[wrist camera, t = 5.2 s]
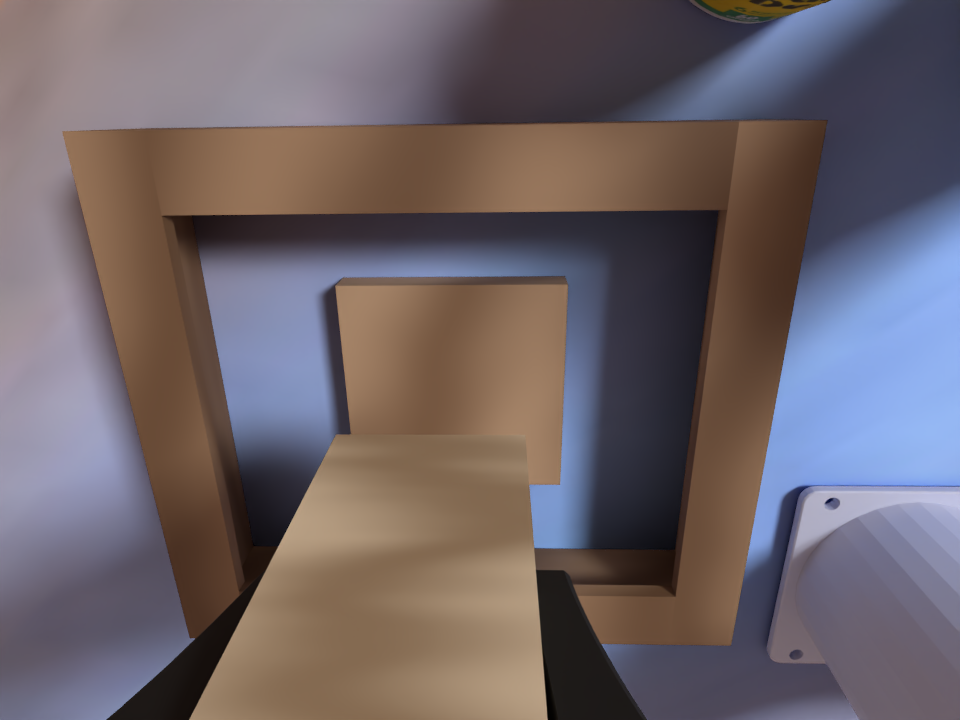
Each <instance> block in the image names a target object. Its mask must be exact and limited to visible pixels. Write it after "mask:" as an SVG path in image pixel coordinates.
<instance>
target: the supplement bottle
mask: <svg viewBox="0 0 960 720" xmlns="http://www.w3.org/2000/svg"><path fill="white" fill-rule="evenodd" d="M689 1H690V2H691V3H692V4H693V5H695V6H696V7H698V8H700V9H701V10H703V11H705V12H706V13H708V14H710V15H712V16H714V17H717V18H720V19H723V20H726V21H731V22H737V23H746V24H750V23H760V22H766V21H770V20H774V19H777V18H780V17H784V16H788V15H791V14H793V13H796V12H799V11H802V10H805V9H808V8H811V7H814V6H816V5H819V4H822V3H826V2H829V1H831V0H689Z"/></svg>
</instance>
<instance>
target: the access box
mask: <svg viewBox="0 0 960 720" xmlns="http://www.w3.org/2000/svg"><path fill="white" fill-rule="evenodd" d="M827 121H828V120H783V119H749V120H682V121H615V122H548V123H481V124H414V125H347V126H280V127H213V128H146V129H117V130H90V131H63V136H64V140H65V144H66V148H67V152H68V156H69V160H70V164H71V168H72V172H73V176H74V180H75V184H76V188H77V192H78V196H79V200H80V204H81V208H82V212H83V216H84V220H85V224H86V228H87V232H88V236H89V240H90V243H91V247H92V251H93V255H94V259H95V263H96V267H97V271H98V275H99V279H100V283H101V287H102V291H103V295H104V299H105V303H106V307H107V311H108V315H109V319H110V323H111V327H112V331H113V335H114V339H115V343H116V347H117V351H118V355H119V359H120V363H121V367H122V371H123V374H124V378H125V382H126V386H127V390H128V394H129V398H130V402H131V406H132V410H133V414H134V418H135V422H136V426H137V430H138V434H139V438H140V442H141V446H142V450H143V454H144V458H145V462H146V466H147V470H148V474H149V478H150V482H151V486H152V490H153V494H154V498H155V502H156V506H157V509H158V513H159V517H160V521H161V525H162V529H163V533H164V537H165V541H166V545H167V549H168V553H169V557H170V561H171V565H172V569H173V573H174V577H175V581H176V585H177V589H178V593H179V597H180V601H181V605H182V609H183V613H184V617H185V621H186V625H187V629H188V633H189V637H190V638H197V637H198V636H199V635H200V634H201V633H202V632H203V631H204V630H205V629H206V628H207V627H208V626H209V625H210V624H211V623H212V622H213V621H214V620H215V619H216V618H217V617H218V616H219V615H220V614H221V613H222V612H223V611H224V610H225V609H226V608H227V607H228V606H229V605H230V604H231V603H232V602H233V601H234V600H235V599H236V598H237V597H238V596H239V595H240V594H241V593H242V592H243V591H244V590H245V589H246V588H247V587H248V586H249V585H250V584H251V583H252V582H253V581H254V580H255V579H256V578H257V577H258V576H259V575H260V574H261V573H262V572H264V571H265V570H266V569H267V568H268V566H269V564H270V562H271V560H272V558H273V556H274V554H275V552H276V550H277V548H278V546H253V540H252V535H251V530H250V524H249V519H248V514H247V508H246V503H245V498H244V492H243V487H242V482H241V476H240V471H239V465H238V460H237V455H236V449H235V444H234V439H233V433H232V428H231V423H230V417H229V412H228V407H227V401H226V396H225V391H224V385H223V380H222V375H221V369H220V364H219V358H218V353H217V348H216V342H215V337H214V332H213V326H212V321H211V316H210V310H209V305H208V300H207V294H206V289H205V284H204V278H203V273H202V268H201V262H200V257H199V251H198V246H197V241H196V235H195V230H194V225H193V219H192V215H265V214H365V213H465V212H564V211H664V210H718V218H717V226H716V234H715V242H714V249H713V257H712V265H711V273H710V280H709V288H708V296H707V304H706V312H705V319H704V327H703V335H702V343H701V350H700V358H699V366H698V374H697V381H696V389H695V397H694V405H693V413H692V420H691V428H690V436H689V444H688V451H687V459H686V467H685V475H684V483H683V490H682V498H681V506H680V514H679V521H678V529H677V537H676V545H675V550H640V549H534V553H535V566H536V570H564V571H565V572H566V573H567V574H569V575H570V578H571V581H572V583H573V586H574V589H575V591H576V594H577V596H578V598H579V601H580V603H581V605H582V607H583V609H584V611H585V614H586V616H587V618H588V620H589V622H590V624H591V626H592V628H593V630H594V632H595V634H596V636H597V637H598V639H599V641H600V643H601V644H652V645H725V646H731V643H732V637H733V632H734V626H735V621H736V615H737V610H738V605H739V599H740V594H741V588H742V583H743V577H744V572H745V567H746V561H747V556H748V550H749V545H750V539H751V534H752V528H753V523H754V518H755V512H756V507H757V501H758V496H759V490H760V485H761V480H762V474H763V469H764V463H765V458H766V452H767V447H768V441H769V436H770V431H771V425H772V420H773V414H774V409H775V403H776V398H777V393H778V387H779V382H780V376H781V371H782V365H783V360H784V354H785V349H786V344H787V338H788V333H789V327H790V322H791V316H792V311H793V306H794V300H795V295H796V289H797V284H798V278H799V273H800V267H801V262H802V257H803V251H804V246H805V240H806V235H807V229H808V224H809V219H810V213H811V208H812V202H813V197H814V191H815V186H816V181H817V175H818V170H819V164H820V159H821V153H822V148H823V142H824V137H825V132H826V126H827ZM335 288H336V297H337V307H338V316H339V326H340V335H341V345H342V354H343V364H344V373H345V383H346V392H347V402H348V411H349V421H350V430H351V435H525V438H526V451H527V464H528V477H529V484H539V485H560V472H561V447H562V423H563V398H564V373H565V348H566V324H567V299H568V283H567V281H566V278H565V276H532V277H377V278H342V279H341V281H340V282H339V283H338V284H337V285H336V286H335Z"/></svg>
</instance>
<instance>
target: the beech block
mask: <svg viewBox="0 0 960 720" xmlns="http://www.w3.org/2000/svg"><path fill="white" fill-rule="evenodd" d="M189 720H548V719H547V706H546V694H545V681H544V668H543V655H542V643H541V630H540V617H539V604H538V592H537V579H536V566H535V553H534V540H533V528H532V515H531V502H530V489H529V477H528V464H527V451H526V438H525V435H336V436H335V437H334V439H333V441H332V443H331V445H330V447H329V449H328V451H327V453H326V455H325V457H324V459H323V461H322V463H321V465H320V467H319V469H318V470H317V472H316V474H315V476H314V478H313V480H312V482H311V484H310V486H309V488H308V490H307V492H306V494H305V496H304V498H303V500H302V502H301V504H300V505H299V507H298V509H297V511H296V513H295V515H294V517H293V519H292V521H291V523H290V525H289V527H288V529H287V531H286V533H285V535H284V537H283V539H282V540H281V542H280V544H279V546H278V548H277V550H276V552H275V554H274V556H273V558H272V560H271V562H270V564H269V566H268V568H267V570H266V572H265V574H264V575H263V577H262V579H261V581H260V583H259V585H258V587H257V589H256V591H255V593H254V595H253V597H252V599H251V601H250V603H249V605H248V607H247V608H246V610H245V612H244V614H243V616H242V618H241V620H240V622H239V624H238V626H237V628H236V630H235V632H234V634H233V636H232V638H231V640H230V642H229V643H228V645H227V647H226V649H225V651H224V653H223V655H222V657H221V659H220V661H219V663H218V665H217V667H216V669H215V671H214V673H213V675H212V677H211V678H210V680H209V682H208V684H207V686H206V688H205V690H204V692H203V694H202V696H201V698H200V700H199V702H198V704H197V706H196V708H195V710H194V712H193V713H192V715H191V717H190V719H189Z"/></svg>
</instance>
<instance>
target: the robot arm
mask: <svg viewBox="0 0 960 720" xmlns="http://www.w3.org/2000/svg"><path fill="white" fill-rule="evenodd" d="M829 498H834V499H833V501H831V502H830V503H826V504H825V502H826V500H828V499H829ZM266 570H267V569H266ZM266 570H265V571H264V572H262V573H261V574H260V575H259V576H258V577H257V578H256V579H255V580H254V581H253V582H252V583H251V584H250V585H249V586H248V587H247V588H246V589H245V590H244V591H243V592H242V593H241V594H240V595H239V596H238V597H237V598H236V599H235V600H234V601H233V602H232V603H231V604H230V605H229V606H228V607H227V608H226V609H225V610H224V611H223V612H222V613H221V614H220V615H219V616H218V617H217V618H216V619H215V620H214V621H213V622H212V623H211V624H210V625H209V626H208V627H207V628H206V629H205V630H204V631H203V632H202V633H201V634H200V635H199V636H198V637H197V638H196V639H195V640H194V641H193V642H192V643H191V644H190V645H189V646H188V647H187V648H185V649H184V650H183V651H182V652H181V653H180V654H179V655H178V656H177V657H176V658H175V659H174V660H173V661H172V662H171V663H170V664H169V665H168V666H167V667H166V668H164V669H163V670H162V671H161V672H160V673H159V674H158V675H157V676H156V677H154V678H153V679H152V680H151V681H150V682H149V683H148V684H147V685H145V686H144V687H143V688H142V689H141V690H140V691H139V692H138V693H137V694H135V695H134V696H133V697H132V698H131V699H130V700H129V701H128V702H126V703H125V704H124V705H123V706H122V707H121V708H120V709H118V710H117V711H116V712H115V713H114V714H113V715H111V716H110V717H109V718H108V719H107V720H189V719H190V717H191V715H192V713H193V712H194V710H195V708H196V706H197V704H198V702H199V700H200V698H201V696H202V694H203V692H204V690H205V688H206V686H207V684H208V682H209V680H210V678H211V677H212V675H213V673H214V671H215V669H216V667H217V665H218V663H219V661H220V659H221V657H222V655H223V653H224V651H225V649H226V647H227V645H228V643H229V642H230V640H231V638H232V636H233V634H234V632H235V630H236V628H237V626H238V624H239V622H240V620H241V618H242V616H243V614H244V612H245V610H246V608H247V607H248V605H249V603H250V601H251V599H252V597H253V595H254V593H255V591H256V589H257V587H258V585H259V583H260V581H261V579H262V577H263V575H264V574H265V572H266ZM536 579H537V592H538V604H539V617H540V630H541V643H542V655H543V668H544V681H545V694H546V706H547V719H548V720H647V719H646V718H645V716H644V715H643V713H642V712H641V710H640V708H639V707H638V705H637V704H636V702H635V701H634V699H633V698H632V696H631V694H630V693H629V691H628V690H627V688H626V686H625V685H624V683H623V681H622V680H621V678H620V676H619V675H618V673H617V671H616V669H615V668H614V666H613V664H612V662H611V661H610V659H609V657H608V655H607V654H606V652H605V650H604V648H603V647H602V645H601V643H600V641H599V639H598V637H597V636H596V634H595V632H594V630H593V628H592V626H591V624H590V622H589V620H588V618H587V616H586V614H585V611H584V609H583V607H582V605H581V603H580V601H579V598H578V596H577V594H576V591H575V589H574V586H573V583H572V581H571V578H570V575H569V574H567V573H566V572H565V571H564V570H536ZM793 650H795V651H793ZM767 652H768V654H769V656H770V658H771V659H772V660H773V661H775V662H778V663H809V664H827V666H828V667H829V669H830V671H831V672H832V674H833V676H834V677H835V679H836V681H837V683H838V684H839V686H840V688H841V689H842V691H843V693H844V694H845V696H846V698H847V699H848V701H849V703H850V704H851V706H852V708H853V709H854V711H855V713H856V714H857V716H858V718H859V720H960V487H908V486H812V487H809V488H807V489H805V490H803V491H802V492H801V493H800V496H799V498H798V502H797V507H796V512H795V516H794V521H793V526H792V530H791V535H790V540H789V544H788V549H787V554H786V559H785V563H784V568H783V573H782V577H781V582H780V587H779V591H778V596H777V601H776V605H775V610H774V615H773V620H772V624H771V629H770V634H769V638H768V643H767Z"/></svg>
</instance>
